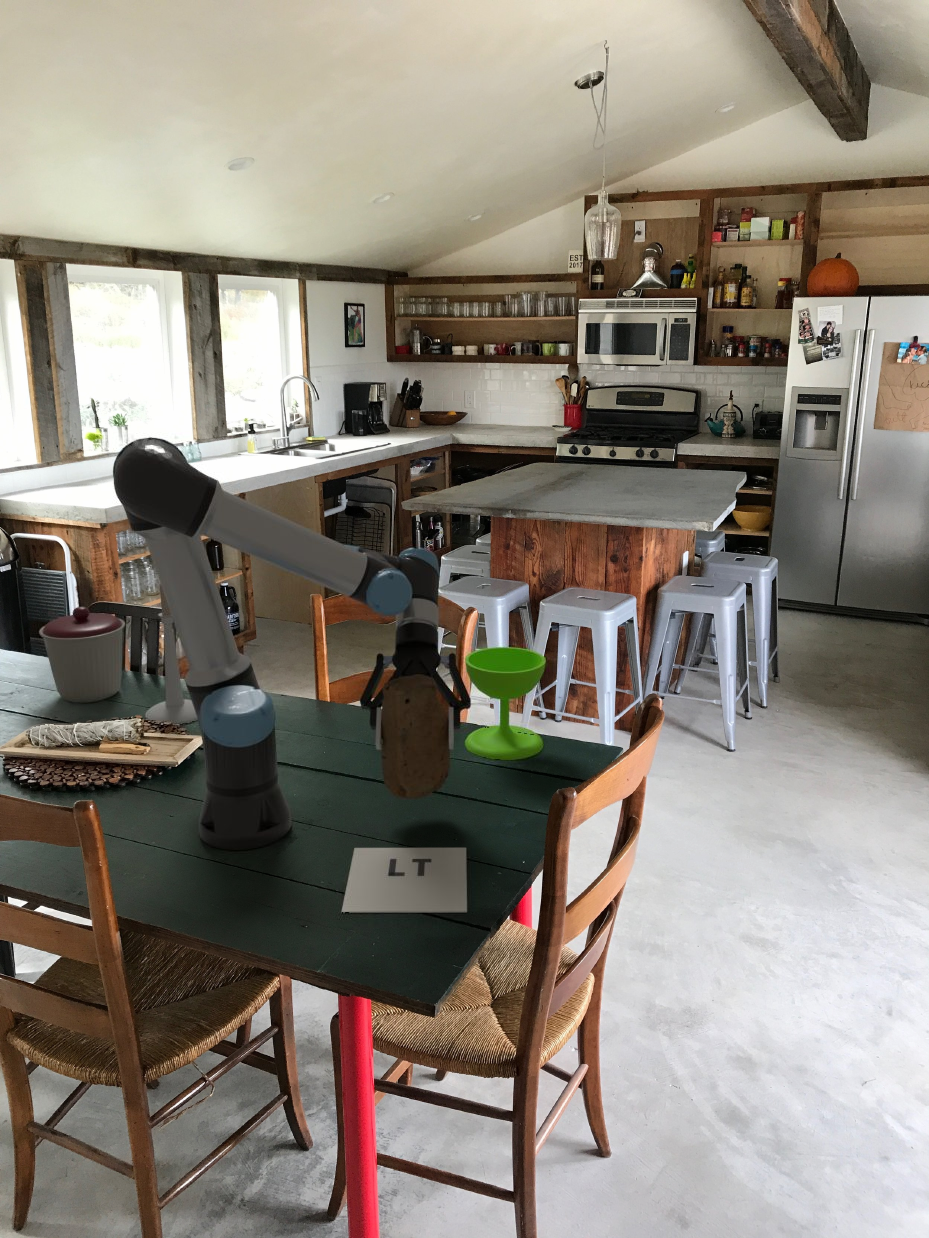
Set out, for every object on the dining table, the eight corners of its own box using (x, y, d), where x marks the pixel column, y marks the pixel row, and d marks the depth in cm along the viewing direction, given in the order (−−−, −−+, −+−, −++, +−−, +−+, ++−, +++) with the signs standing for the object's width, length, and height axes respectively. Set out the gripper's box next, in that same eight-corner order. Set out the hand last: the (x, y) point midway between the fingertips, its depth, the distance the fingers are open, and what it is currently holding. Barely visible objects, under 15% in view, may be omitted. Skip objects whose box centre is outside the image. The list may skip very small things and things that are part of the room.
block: (398, 805, 161) (396, 692, 155) (378, 787, 167) (375, 678, 161) (455, 790, 166) (454, 680, 160) (434, 773, 172) (432, 666, 166)
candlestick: (133, 723, 208) (119, 587, 199) (164, 702, 220) (152, 572, 211) (188, 728, 205) (176, 590, 197) (216, 706, 217) (206, 575, 208)
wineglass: (492, 722, 208) (493, 642, 203) (558, 739, 199) (560, 656, 194) (449, 747, 195) (448, 662, 190) (517, 767, 187) (518, 678, 182)
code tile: (341, 912, 140) (341, 911, 139) (354, 849, 157) (354, 847, 157) (466, 912, 140) (466, 910, 140) (466, 848, 157) (466, 847, 157)
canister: (140, 680, 233) (132, 596, 227) (119, 708, 216) (110, 617, 210) (63, 682, 232) (52, 597, 226) (36, 710, 214) (24, 619, 209)
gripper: (483, 639, 175) (486, 754, 164) (351, 640, 175) (345, 755, 164) (484, 619, 168) (486, 737, 158) (347, 620, 168) (340, 738, 158)
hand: (414, 746), depth 161 cm, fingers closed on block, 11 cm apart
